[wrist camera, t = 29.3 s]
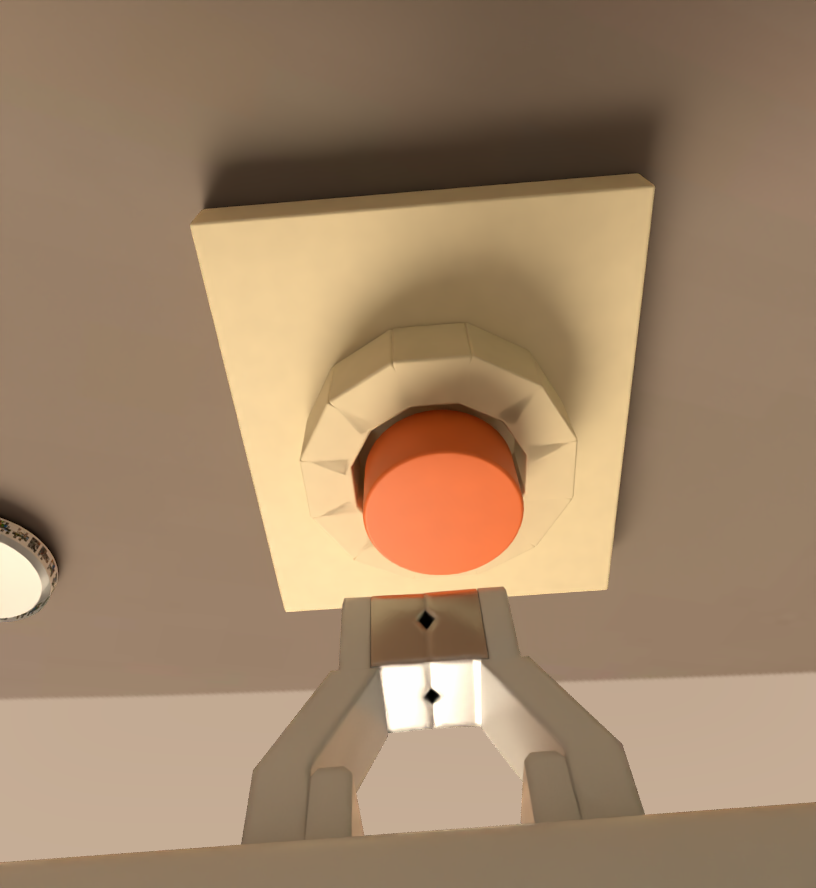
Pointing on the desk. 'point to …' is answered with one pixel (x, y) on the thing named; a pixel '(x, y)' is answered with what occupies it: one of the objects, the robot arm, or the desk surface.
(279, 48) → the desk surface
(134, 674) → the desk surface
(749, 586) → the desk surface
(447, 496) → the button
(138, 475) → the desk surface
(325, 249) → the control box
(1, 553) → the washi tape
